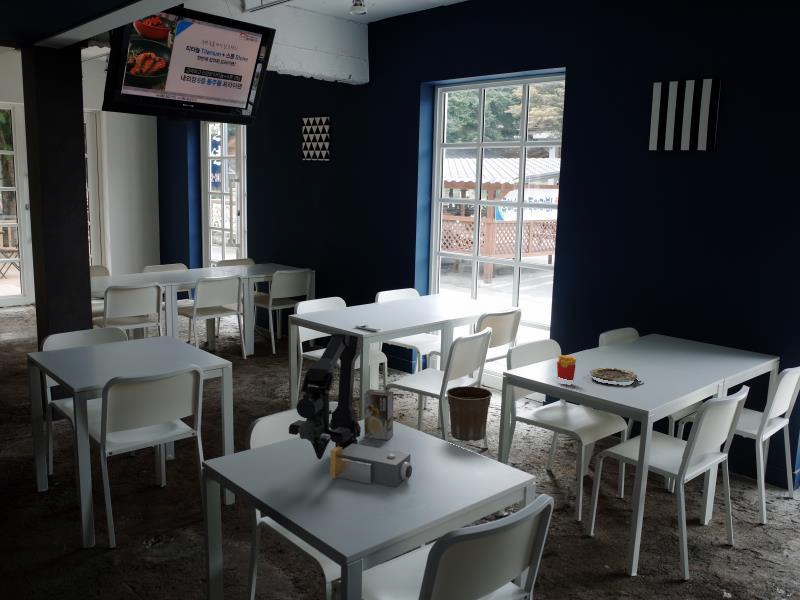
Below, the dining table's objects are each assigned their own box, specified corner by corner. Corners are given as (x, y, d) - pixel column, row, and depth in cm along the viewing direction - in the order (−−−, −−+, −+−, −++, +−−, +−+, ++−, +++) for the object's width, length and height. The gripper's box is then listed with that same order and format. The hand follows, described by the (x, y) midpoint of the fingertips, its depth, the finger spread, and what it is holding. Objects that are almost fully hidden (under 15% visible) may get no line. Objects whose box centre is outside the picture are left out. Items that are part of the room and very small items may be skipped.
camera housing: (336, 475, 216) (336, 451, 215) (352, 464, 225) (352, 441, 224) (401, 489, 207) (402, 464, 205) (416, 477, 216) (416, 453, 215)
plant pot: (480, 447, 243) (481, 401, 241) (437, 438, 251) (438, 394, 248) (497, 433, 257) (499, 390, 255) (456, 426, 265) (457, 384, 262)
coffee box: (394, 435, 254) (394, 391, 251) (387, 440, 248) (388, 395, 245) (369, 431, 257) (370, 388, 254) (363, 437, 251) (363, 393, 248)
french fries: (554, 382, 330) (556, 355, 328) (560, 380, 333) (561, 353, 331) (571, 386, 323) (573, 358, 321) (576, 384, 326) (578, 357, 324)
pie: (622, 392, 316) (622, 381, 315) (570, 381, 336) (570, 370, 336) (653, 382, 335) (654, 371, 334) (602, 371, 355) (603, 362, 354)
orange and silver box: (330, 481, 210) (330, 450, 209) (339, 475, 215) (339, 445, 214) (363, 488, 206) (364, 457, 204) (372, 482, 210) (372, 451, 209)
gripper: (277, 411, 208) (278, 462, 210) (332, 420, 200) (332, 473, 202) (298, 401, 218) (299, 450, 220) (352, 410, 210) (351, 460, 212)
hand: (319, 458), depth 213 cm, fingers closed
